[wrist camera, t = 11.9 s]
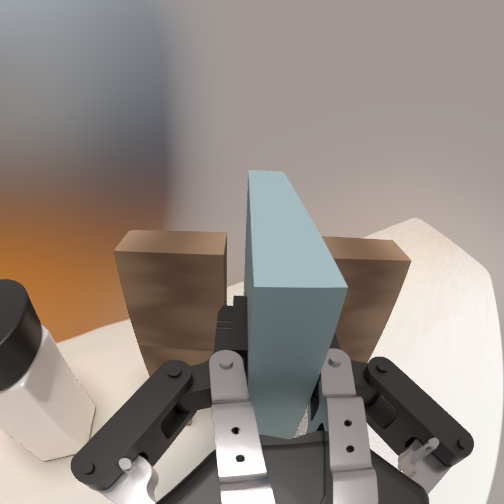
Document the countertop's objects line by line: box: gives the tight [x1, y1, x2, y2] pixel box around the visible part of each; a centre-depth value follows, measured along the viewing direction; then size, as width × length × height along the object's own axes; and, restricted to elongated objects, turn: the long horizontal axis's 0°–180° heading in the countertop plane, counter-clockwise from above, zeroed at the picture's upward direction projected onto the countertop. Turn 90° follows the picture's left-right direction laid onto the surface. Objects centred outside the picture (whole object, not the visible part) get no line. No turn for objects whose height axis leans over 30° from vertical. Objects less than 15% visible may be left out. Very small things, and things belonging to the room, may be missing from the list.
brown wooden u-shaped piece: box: [114, 230, 411, 425], centre depth 18 cm, size 16×7×14 cm, turn 91°
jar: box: [0, 279, 96, 461], centre depth 12 cm, size 9×8×12 cm
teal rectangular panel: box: [244, 170, 348, 439], centre depth 16 cm, size 14×2×12 cm, turn 1°
